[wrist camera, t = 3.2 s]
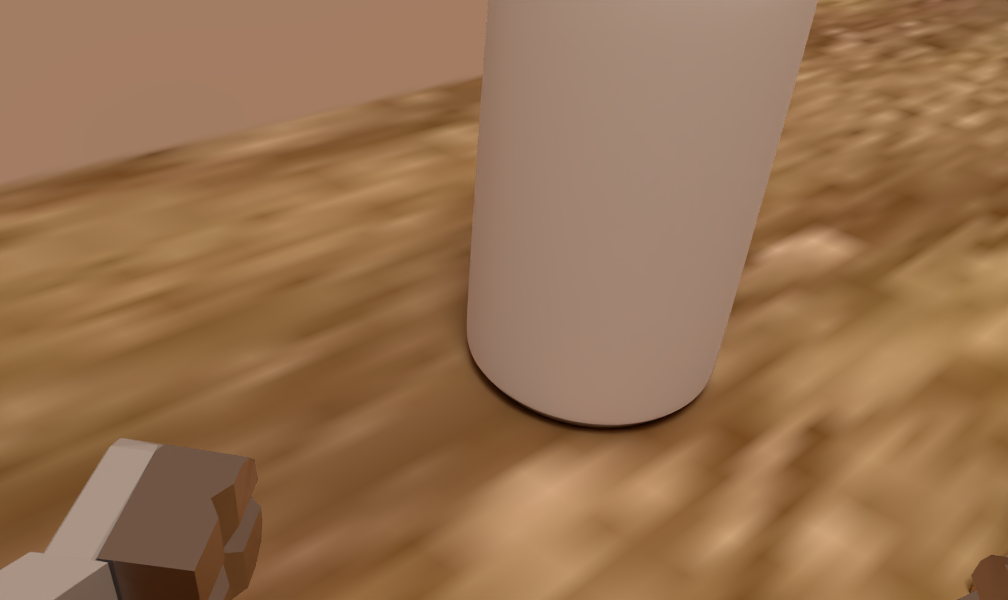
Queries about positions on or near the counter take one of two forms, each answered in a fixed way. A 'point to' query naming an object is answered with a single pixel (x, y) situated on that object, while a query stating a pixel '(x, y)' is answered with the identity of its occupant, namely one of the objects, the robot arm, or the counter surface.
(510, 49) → the can
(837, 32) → the counter surface
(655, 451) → the counter surface
